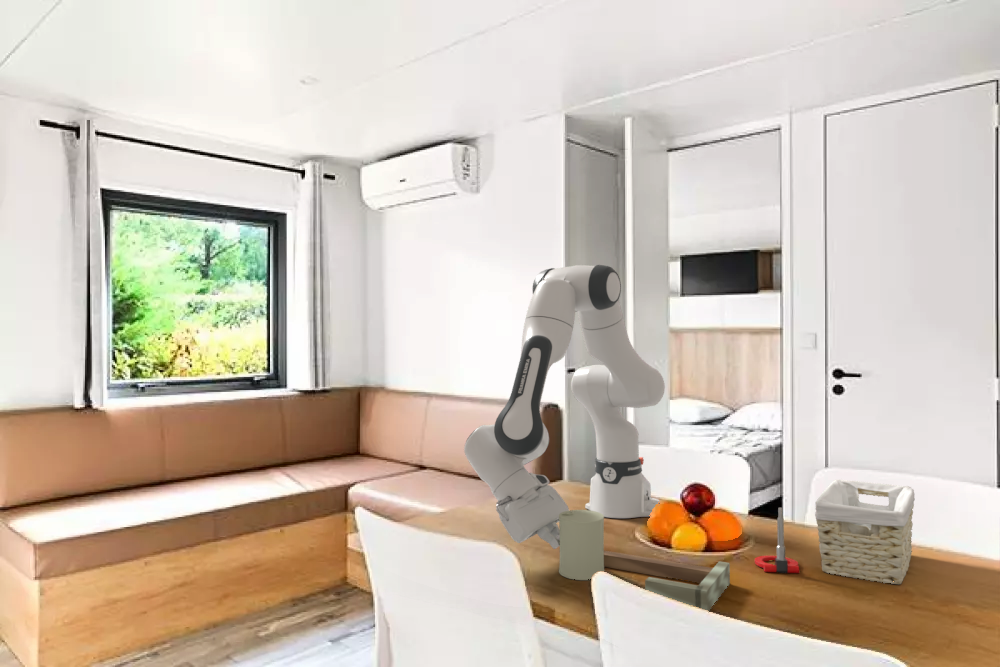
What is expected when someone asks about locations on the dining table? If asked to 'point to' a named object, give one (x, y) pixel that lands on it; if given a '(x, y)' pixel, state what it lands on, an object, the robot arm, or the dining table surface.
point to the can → (581, 543)
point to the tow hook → (778, 554)
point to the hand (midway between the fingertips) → (560, 545)
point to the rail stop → (696, 595)
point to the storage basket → (865, 531)
